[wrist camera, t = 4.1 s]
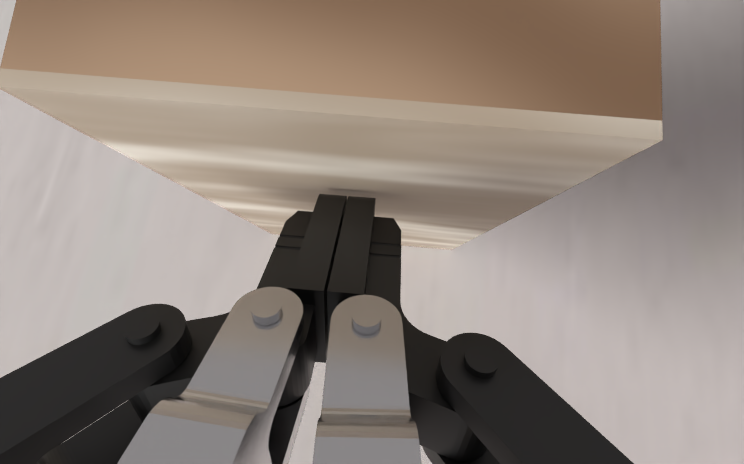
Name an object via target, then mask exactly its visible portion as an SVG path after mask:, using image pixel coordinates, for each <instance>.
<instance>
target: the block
mask: <svg viewBox="0 0 744 464" xmlns="http://www.w3.org/2000/svg"><path fill="white" fill-rule="evenodd" d="M0 89H1V90H3V91H5V92H7V93H8V94H10V95H12V96H14V97H16V98H18V99H20V100H22V101H23V102H25V103H27V104H29V105H31V106H33V107H35V108H37V109H38V110H40V111H42V112H44V113H46V114H48V115H50V116H52V117H53V118H55V119H57V120H59V121H61V122H63V123H65V124H67V125H68V126H70V127H72V128H74V129H76V130H78V131H80V132H82V133H83V134H85V135H87V136H89V137H91V138H93V139H95V140H97V141H98V142H100V143H102V144H104V145H106V146H108V147H110V148H112V149H113V150H115V151H117V152H119V153H121V154H123V155H125V156H127V157H128V158H130V159H132V160H134V161H136V162H138V163H140V164H142V165H143V166H145V167H147V168H149V169H151V170H153V171H155V172H157V173H158V174H160V175H162V176H164V177H166V178H168V179H170V180H172V181H173V182H175V183H177V184H179V185H181V186H183V187H185V188H187V189H188V190H190V191H192V192H194V193H196V194H198V195H200V196H202V197H203V198H205V199H207V200H209V201H211V202H213V203H215V204H217V205H218V206H220V207H222V208H224V209H226V210H228V211H230V212H232V213H234V214H235V215H237V216H239V217H241V218H243V219H245V220H247V221H249V222H250V223H252V224H254V225H256V226H258V227H260V228H262V229H264V230H265V231H267V232H269V233H271V234H278V235H280V233H281V231H282V229H283V226H284V224H285V222H286V221H287V220H288V219H289V218H290V217H291V216H292V215H294V214H295V213H296V212H297V211H310V212H313V210H314V207H315V204H316V201H317V198H318V196H319V194H330V195H342V196H347V200H348V197H349V196H356V197H368V198H376V201H375V217H385V218H394V220H395V221H396V223H397V224H398V226H399V228H400V229H401V245H404V246H415V247H427V248H438V249H449V250H453V249H455V248H456V247H458V246H460V245H462V244H464V243H466V242H468V241H470V240H472V239H474V238H476V237H478V236H480V235H481V234H483V233H485V232H487V231H489V230H491V229H493V228H495V227H497V226H499V225H501V224H503V223H504V222H506V221H508V220H510V219H512V218H514V217H516V216H518V215H520V214H522V213H524V212H526V211H528V210H529V209H531V208H533V207H535V206H537V205H539V204H541V203H543V202H545V201H547V200H549V199H551V198H553V197H554V196H556V195H558V194H560V193H562V192H564V191H566V190H568V189H570V188H572V187H574V186H576V185H577V184H579V183H581V182H583V181H585V180H587V179H589V178H591V177H593V176H595V175H597V174H599V173H601V172H602V171H604V170H606V169H608V168H610V167H612V166H614V165H616V164H618V163H620V162H622V161H624V160H625V159H627V158H629V157H631V156H633V155H635V154H637V153H639V152H641V151H643V150H645V149H647V148H649V147H650V146H652V145H654V144H656V143H658V142H660V141H662V140H663V132H662V76H661V21H660V0H16V4H15V8H14V13H13V17H12V21H11V25H10V29H9V33H8V37H7V41H6V46H5V50H4V54H3V58H2V62H1V66H0Z"/></svg>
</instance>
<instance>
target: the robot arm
mask: <svg viewBox="0 0 744 464" xmlns="http://www.w3.org/2000/svg"><path fill="white" fill-rule="evenodd" d="M375 201H376V198H368V197H356V196H349V197H348V200H347V196H342V195H330V194H319V196H318V198H317V201H316V204H315V207H314V210H313V212H310V211H297V212H296V213H295V214H294V215H292V216H291V217H290V218H289V219H288V220H287V221H286V222H285V224H284V226H283V229H282V231H281V233H280V237H279V238H278V240H277V243H276V245H275V248H274V250H273V252H272V254H271V257H270V259H269V262H268V264H267V266H266V269H265V271H264V273H263V276H262V278H261V280H260V283H259V285H258V287H257V289H256V290H253V291H251V292H249V293H247V294H246V295H244V296H243V297H241V298H240V299H239V300H238V301H237V302H236V303H235V305H234V306H233V308H232V310H231V311H230V312H229V313H226V314H223V315H218V316H214V317H208V318H202V319H196V320H190V321H186V320H185V317H184V315H183V314H182V312H181V311H180V310H179V309H177V308H175V307H173V306H170V305H166V304H151V305H146V306H142V307H139V308H136V309H133V310H131V311H129V312H127V313H125V314H123V315H121V316H119V317H117V318H115V319H113V320H111V321H110V322H108V323H106V324H104V325H102V326H100V327H98V328H96V329H94V330H92V331H90V332H88V333H86V334H84V335H83V336H81V337H79V338H77V339H75V340H73V341H71V342H69V343H67V344H65V345H63V346H61V347H59V348H57V349H56V350H54V351H52V352H50V353H48V354H46V355H44V356H42V357H40V358H38V359H36V360H34V361H32V362H30V363H28V364H27V365H25V366H23V367H21V368H19V369H17V370H15V371H13V372H11V373H9V374H7V375H5V376H3V377H1V378H0V464H288V463H289V460H290V456H291V453H292V449H293V446H294V443H295V439H296V436H297V433H298V429H299V426H300V422H301V419H302V416H303V412H304V409H305V406H306V402H307V399H308V395H309V384H310V381H311V377H312V372H313V367H314V363H315V362H324V363H326V372H325V381H324V391H323V401H322V410H321V416H320V418H319V420H318V424H317V430H316V438H315V446H314V456H313V464H421V455H420V445H421V446H423V449H424V451H425V453H426V455H427V457H428V458H429V459H430V461H431V462H432V464H634V463H632V462H631V461H630V460H629V459H628V458H627V457H626V456H625V455H624V454H623V453H621V452H620V451H619V450H618V449H617V448H616V447H615V446H614V445H613V444H612V443H611V442H609V441H608V440H607V439H606V438H605V437H604V436H603V435H602V434H601V433H600V432H598V431H597V430H596V429H595V428H594V427H593V426H592V425H591V424H590V423H589V422H587V421H586V420H585V419H584V418H583V417H582V416H581V415H580V414H579V413H578V412H576V411H575V410H574V409H573V408H572V407H571V406H570V405H569V404H568V403H567V402H566V401H564V400H563V399H562V398H561V397H560V396H559V395H558V394H557V393H556V392H555V391H553V390H552V389H551V388H550V387H549V386H548V385H547V384H546V383H545V382H544V381H542V380H541V379H540V378H539V377H538V376H537V375H536V374H535V373H534V372H533V371H532V370H530V369H529V368H528V367H527V366H526V365H525V364H524V363H523V362H522V361H521V360H519V359H518V358H517V357H516V356H515V355H514V354H513V353H512V352H511V351H510V350H508V349H507V348H506V347H505V346H504V345H503V344H501V343H500V342H498V341H497V340H495V339H493V338H491V337H489V336H486V335H483V334H478V333H463V334H459V335H456V336H454V337H452V338H451V339H449V340H448V341H447V342H446V341H444V340H441V339H438V338H436V337H433V336H430V335H428V334H426V333H423V332H422V331H420V330H418V329H417V328H415V327H414V326H413V325H412V324H411V323H410V322H409V321H408V320H407V319H406V317H405V316H404V314H403V312H402V309H401V304H400V286H401V229H400V228H399V226H398V224H397V223H396V221H395V220H394V218H385V217H375ZM326 360H327V362H326ZM127 400H128V401H127ZM126 401H127V402H126ZM124 402H125V403H124ZM123 403H124V404H123ZM121 404H122V405H121ZM120 405H121V406H120ZM118 406H119V407H118ZM116 407H117V408H116ZM115 408H116V409H115ZM113 409H114V410H113ZM112 410H113V411H112ZM110 411H111V412H110ZM109 412H110V413H109ZM107 413H108V414H107ZM106 414H107V415H106ZM104 415H105V416H104ZM103 416H104V417H103ZM101 417H102V418H101ZM99 418H101V419H99ZM98 419H99V420H98ZM96 420H97V421H96ZM95 421H96V422H95ZM93 422H94V423H93ZM92 423H93V424H92ZM90 424H91V425H90ZM89 425H90V426H89ZM87 426H88V427H87ZM86 427H87V428H86ZM84 428H85V429H84ZM83 429H84V430H83ZM81 430H82V431H81ZM79 431H81V432H79ZM78 432H79V433H78ZM76 433H77V434H76ZM75 434H76V435H75ZM73 435H74V436H73ZM72 436H73V437H72ZM70 437H71V438H70ZM69 438H70V439H69ZM67 439H68V440H67ZM66 440H67V441H66ZM64 441H65V442H64Z"/></svg>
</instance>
